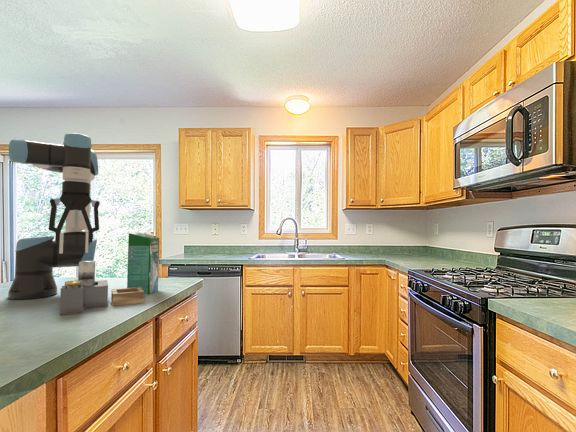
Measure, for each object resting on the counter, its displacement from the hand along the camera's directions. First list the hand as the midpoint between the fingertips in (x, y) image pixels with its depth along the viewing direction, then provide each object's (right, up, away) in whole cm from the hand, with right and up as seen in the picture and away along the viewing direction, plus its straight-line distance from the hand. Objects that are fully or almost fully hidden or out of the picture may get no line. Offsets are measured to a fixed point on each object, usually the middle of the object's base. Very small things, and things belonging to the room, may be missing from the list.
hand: (74, 252), depth 104 cm
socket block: (-1, -19, +7) cm, 20 cm away
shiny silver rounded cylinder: (-2, -16, +9) cm, 19 cm away
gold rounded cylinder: (0, -16, -1) cm, 16 cm away
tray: (+10, -20, +14) cm, 26 cm away
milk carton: (+8, -20, +31) cm, 38 cm away
